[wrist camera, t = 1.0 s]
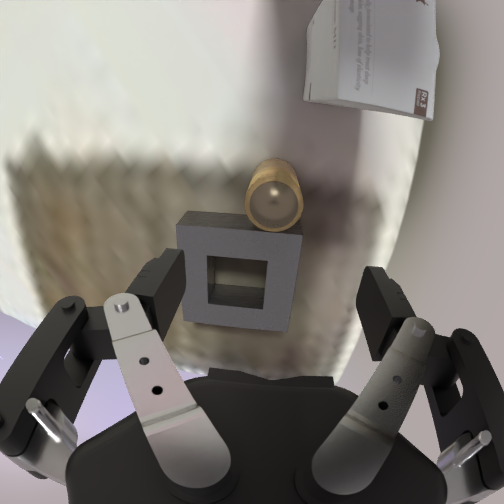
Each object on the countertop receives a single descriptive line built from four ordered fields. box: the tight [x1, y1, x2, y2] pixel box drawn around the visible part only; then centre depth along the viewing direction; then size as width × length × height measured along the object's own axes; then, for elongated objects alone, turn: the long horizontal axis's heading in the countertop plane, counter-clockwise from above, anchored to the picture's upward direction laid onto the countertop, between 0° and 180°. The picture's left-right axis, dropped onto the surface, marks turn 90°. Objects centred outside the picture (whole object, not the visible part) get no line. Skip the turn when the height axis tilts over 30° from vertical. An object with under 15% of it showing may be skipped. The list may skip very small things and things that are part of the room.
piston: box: [244, 159, 304, 232], centre depth 25 cm, size 4×4×8 cm
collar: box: [176, 211, 303, 332], centre depth 31 cm, size 12×12×4 cm
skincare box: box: [303, 0, 440, 121], centre depth 16 cm, size 8×6×15 cm
